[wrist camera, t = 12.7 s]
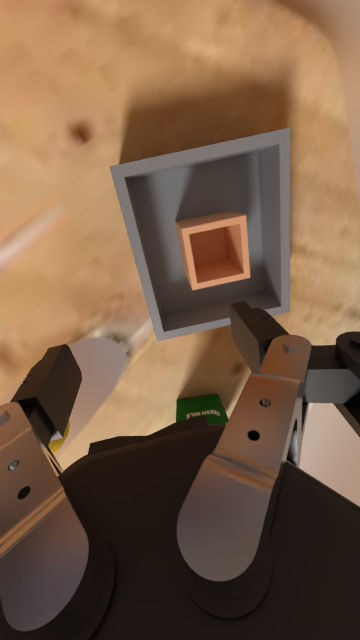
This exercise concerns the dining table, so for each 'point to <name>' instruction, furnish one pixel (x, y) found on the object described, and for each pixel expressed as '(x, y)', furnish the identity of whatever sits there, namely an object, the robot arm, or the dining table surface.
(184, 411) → the milk carton
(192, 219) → the box
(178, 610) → the robot arm
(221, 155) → the big crate
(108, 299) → the dining table surface
